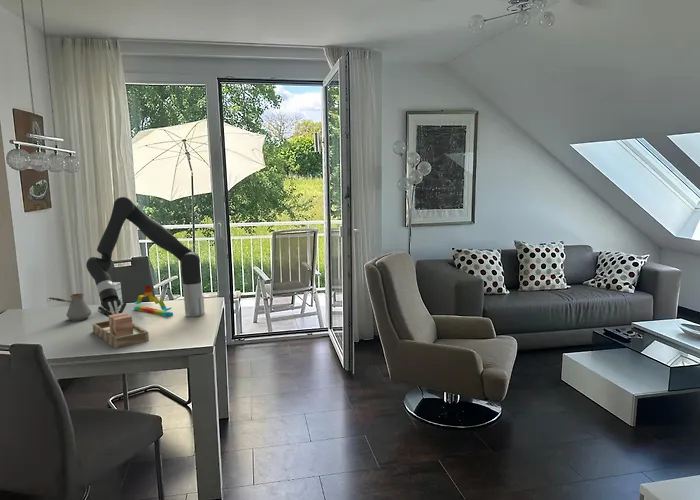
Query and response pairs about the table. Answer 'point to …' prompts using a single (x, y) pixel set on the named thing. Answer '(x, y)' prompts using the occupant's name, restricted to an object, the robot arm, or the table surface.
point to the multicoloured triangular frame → (155, 311)
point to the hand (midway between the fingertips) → (117, 322)
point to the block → (120, 324)
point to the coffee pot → (76, 307)
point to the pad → (128, 335)
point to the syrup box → (118, 291)
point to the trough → (104, 332)
